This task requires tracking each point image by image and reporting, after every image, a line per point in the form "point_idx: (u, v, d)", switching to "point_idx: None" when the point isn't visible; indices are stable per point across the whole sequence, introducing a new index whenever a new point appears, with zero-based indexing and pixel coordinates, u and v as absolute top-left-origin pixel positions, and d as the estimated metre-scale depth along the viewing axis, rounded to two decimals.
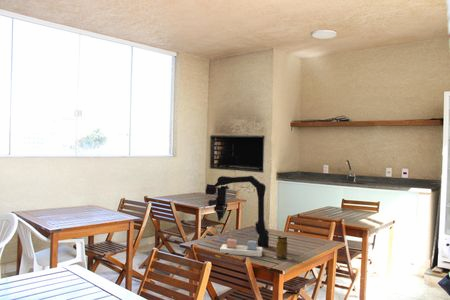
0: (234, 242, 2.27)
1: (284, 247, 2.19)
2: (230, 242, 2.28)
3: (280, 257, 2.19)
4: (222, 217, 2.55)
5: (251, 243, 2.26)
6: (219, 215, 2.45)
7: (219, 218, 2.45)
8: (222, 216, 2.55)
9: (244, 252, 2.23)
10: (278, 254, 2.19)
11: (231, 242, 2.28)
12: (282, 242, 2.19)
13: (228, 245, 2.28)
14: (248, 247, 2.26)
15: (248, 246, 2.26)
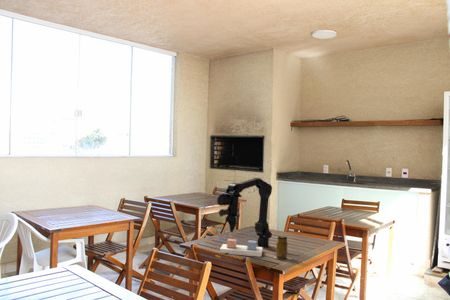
0: (234, 242, 2.27)
1: (284, 247, 2.19)
2: (230, 242, 2.28)
3: (280, 257, 2.19)
4: (234, 228, 2.33)
5: (251, 243, 2.26)
6: (231, 226, 2.26)
7: (231, 229, 2.26)
8: (234, 227, 2.33)
9: (244, 252, 2.23)
10: (278, 254, 2.19)
11: (231, 242, 2.28)
12: (282, 242, 2.19)
13: (228, 245, 2.28)
14: (248, 247, 2.26)
15: (248, 246, 2.26)
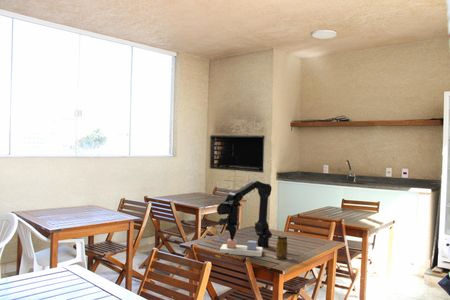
0: (234, 242, 2.27)
1: (284, 247, 2.19)
2: (230, 242, 2.28)
3: (280, 257, 2.19)
4: (233, 238, 2.30)
5: (251, 243, 2.26)
6: (232, 234, 2.29)
7: (232, 237, 2.29)
8: None
9: (244, 252, 2.23)
10: (278, 254, 2.19)
11: (231, 242, 2.28)
12: (282, 242, 2.19)
13: (228, 245, 2.28)
14: (248, 247, 2.26)
15: (248, 246, 2.26)
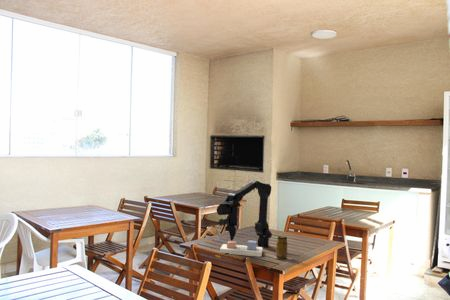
0: (234, 244, 2.27)
1: (284, 247, 2.19)
2: (230, 244, 2.28)
3: (280, 257, 2.19)
4: (232, 239, 2.30)
5: (251, 243, 2.26)
6: (231, 234, 2.29)
7: (231, 237, 2.29)
8: None
9: (244, 252, 2.23)
10: (278, 254, 2.19)
11: (231, 244, 2.28)
12: (282, 242, 2.19)
13: (228, 247, 2.28)
14: (248, 247, 2.26)
15: (248, 246, 2.26)
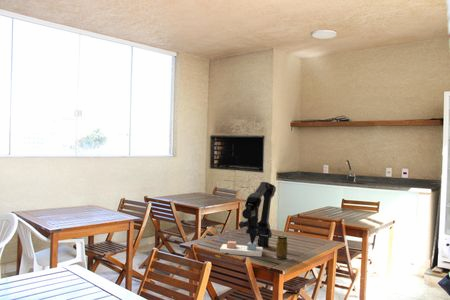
0: (234, 244, 2.27)
1: (284, 247, 2.19)
2: (230, 244, 2.28)
3: (280, 257, 2.19)
4: (253, 241, 2.28)
5: (251, 245, 2.26)
6: (252, 237, 2.27)
7: (252, 240, 2.27)
8: None
9: (244, 252, 2.23)
10: (278, 254, 2.19)
11: (231, 244, 2.28)
12: (282, 242, 2.19)
13: (228, 247, 2.28)
14: (248, 249, 2.26)
15: (248, 248, 2.26)
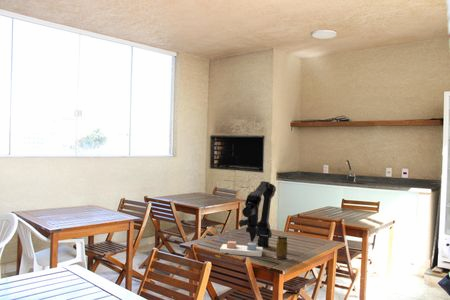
0: (234, 244, 2.27)
1: (284, 247, 2.19)
2: (230, 244, 2.28)
3: (280, 257, 2.19)
4: None
5: (251, 245, 2.26)
6: (252, 235, 2.27)
7: (252, 238, 2.27)
8: None
9: (244, 252, 2.23)
10: (278, 254, 2.19)
11: (231, 244, 2.28)
12: (282, 242, 2.19)
13: (228, 247, 2.28)
14: (248, 249, 2.26)
15: (248, 248, 2.26)
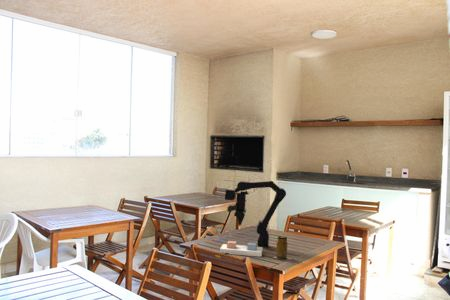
0: (234, 244, 2.27)
1: (284, 247, 2.19)
2: (230, 244, 2.28)
3: (280, 257, 2.19)
4: (240, 224, 2.47)
5: (251, 245, 2.26)
6: (240, 220, 2.46)
7: (239, 223, 2.47)
8: (240, 223, 2.47)
9: (244, 252, 2.23)
10: (278, 254, 2.19)
11: (231, 244, 2.28)
12: (282, 242, 2.19)
13: (228, 247, 2.28)
14: (248, 249, 2.26)
15: (248, 248, 2.26)
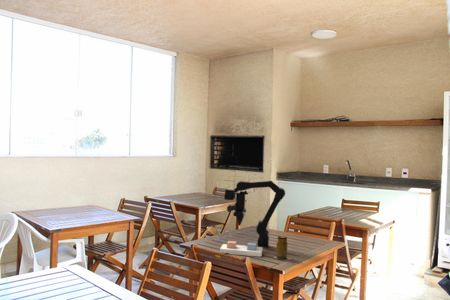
0: (234, 244, 2.27)
1: (284, 247, 2.19)
2: (230, 244, 2.28)
3: (280, 257, 2.19)
4: None
5: (251, 245, 2.26)
6: (239, 220, 2.47)
7: (239, 222, 2.48)
8: None
9: (244, 252, 2.23)
10: (278, 254, 2.19)
11: (231, 244, 2.28)
12: (282, 242, 2.19)
13: (228, 247, 2.28)
14: (248, 249, 2.26)
15: (248, 248, 2.26)
